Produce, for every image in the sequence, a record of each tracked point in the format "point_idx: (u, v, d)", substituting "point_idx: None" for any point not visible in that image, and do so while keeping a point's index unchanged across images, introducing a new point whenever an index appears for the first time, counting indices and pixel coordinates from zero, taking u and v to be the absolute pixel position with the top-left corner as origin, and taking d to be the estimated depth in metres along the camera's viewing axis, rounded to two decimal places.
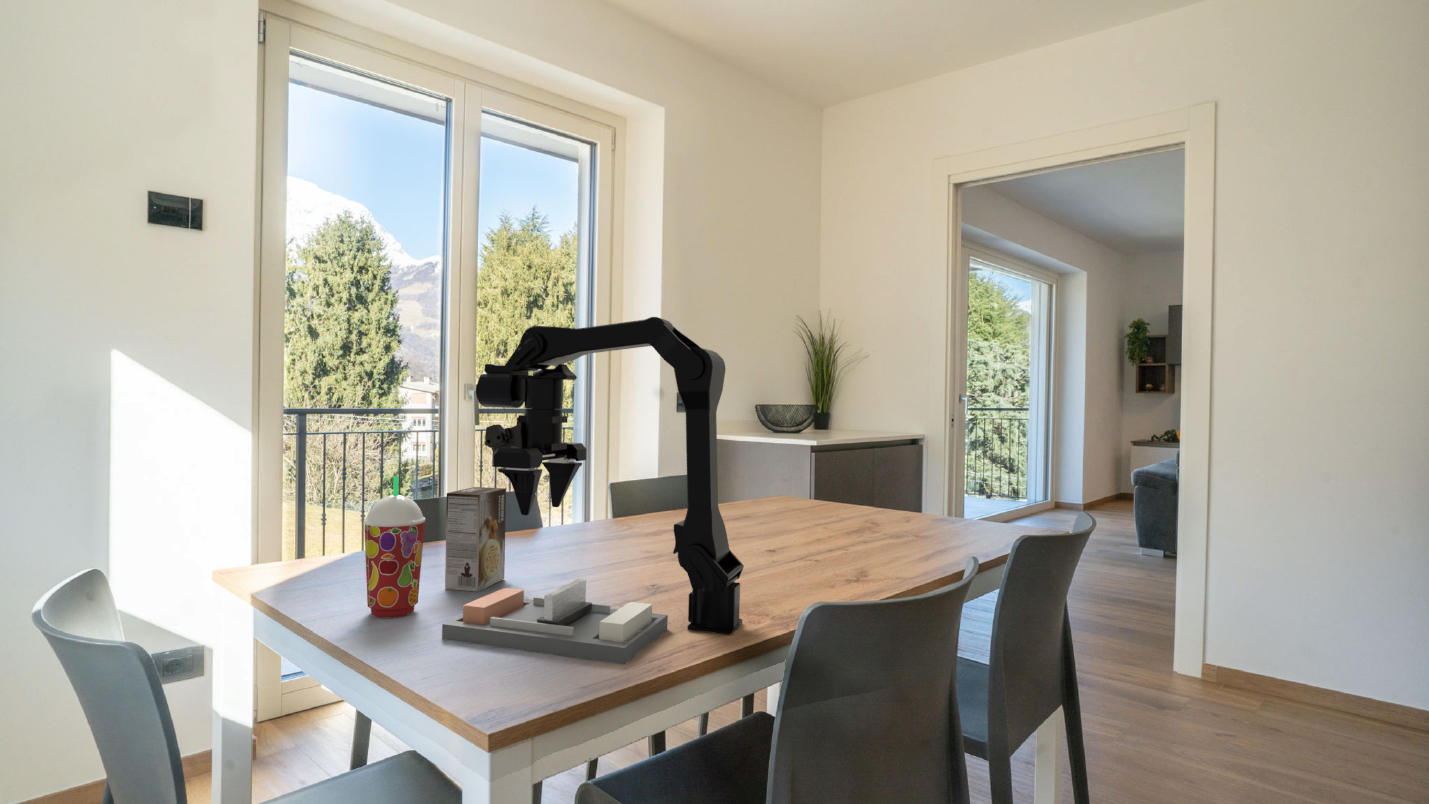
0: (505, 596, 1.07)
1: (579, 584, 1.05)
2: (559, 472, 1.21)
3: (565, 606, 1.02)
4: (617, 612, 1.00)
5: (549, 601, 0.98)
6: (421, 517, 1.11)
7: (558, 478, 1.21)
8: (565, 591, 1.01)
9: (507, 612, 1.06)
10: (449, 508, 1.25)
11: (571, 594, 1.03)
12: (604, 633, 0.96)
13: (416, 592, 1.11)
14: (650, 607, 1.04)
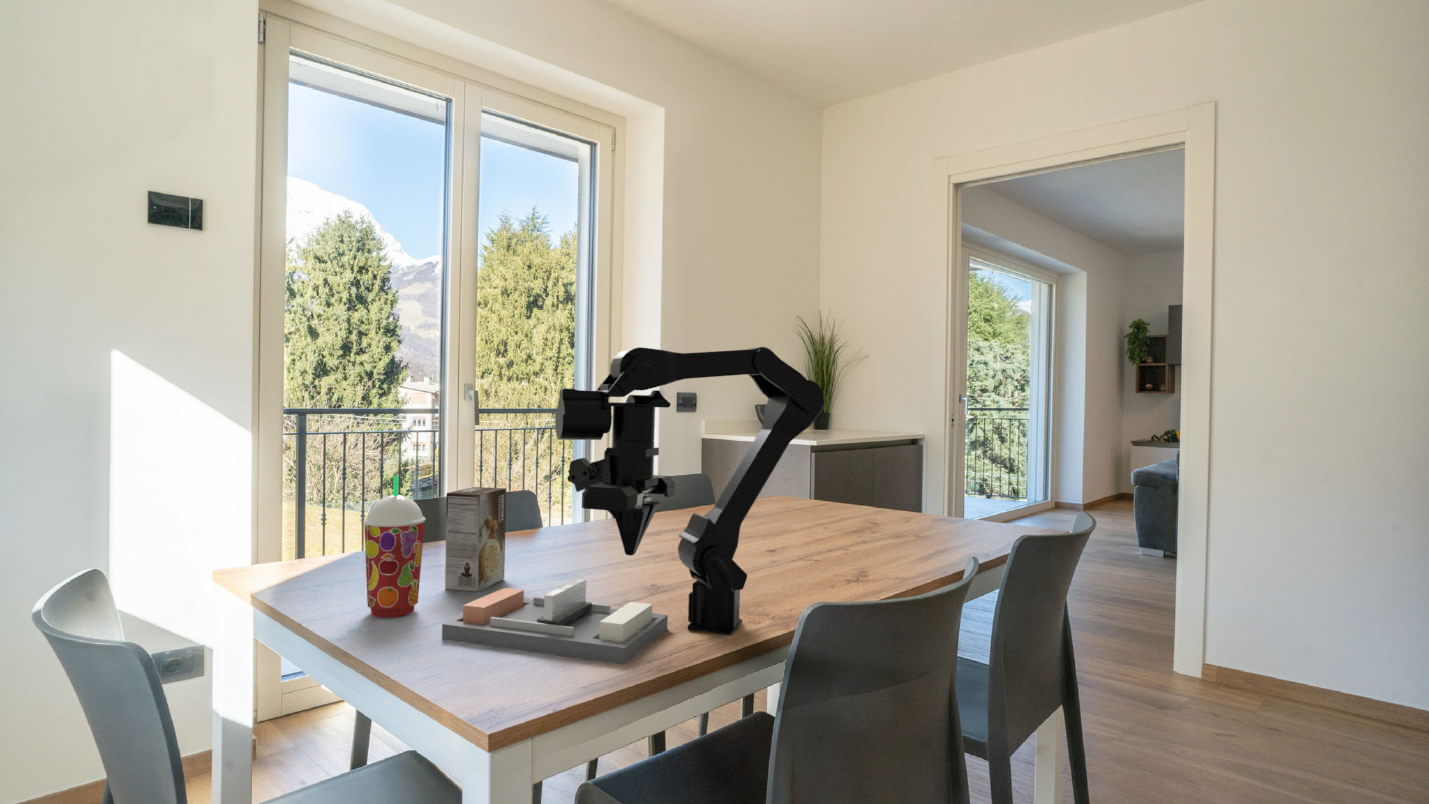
0: (505, 596, 1.07)
1: (579, 584, 1.05)
2: None
3: (565, 606, 1.02)
4: (617, 612, 1.00)
5: (549, 601, 0.98)
6: (421, 517, 1.11)
7: None
8: (565, 591, 1.01)
9: (507, 612, 1.06)
10: (449, 508, 1.25)
11: (571, 594, 1.03)
12: (604, 633, 0.96)
13: (416, 592, 1.11)
14: (650, 607, 1.04)
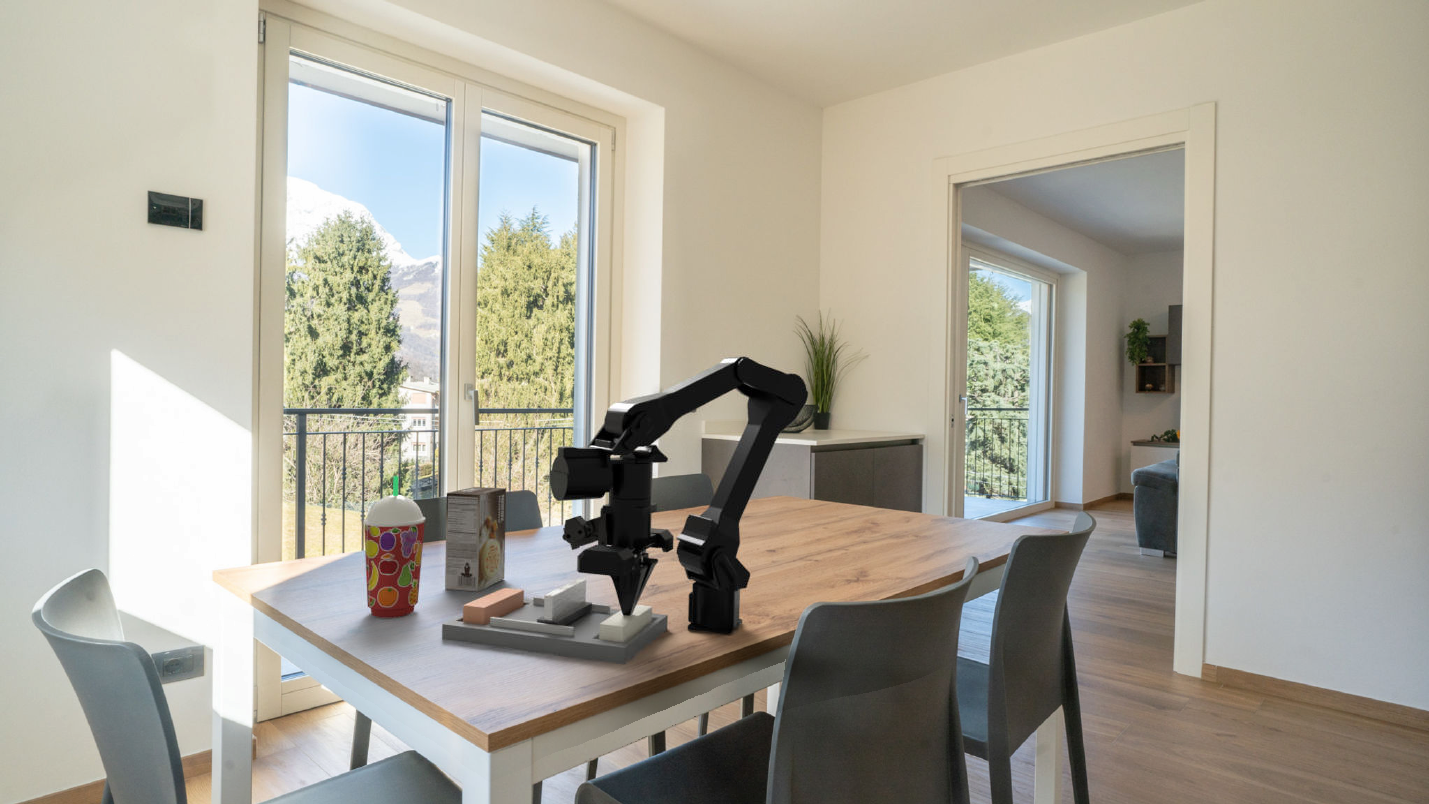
0: (505, 596, 1.07)
1: (579, 584, 1.05)
2: None
3: (565, 606, 1.02)
4: (617, 615, 1.00)
5: (549, 601, 0.98)
6: (421, 517, 1.11)
7: None
8: (565, 591, 1.01)
9: (507, 612, 1.06)
10: (449, 508, 1.25)
11: (571, 594, 1.03)
12: (604, 635, 0.96)
13: (416, 592, 1.11)
14: (650, 610, 1.04)
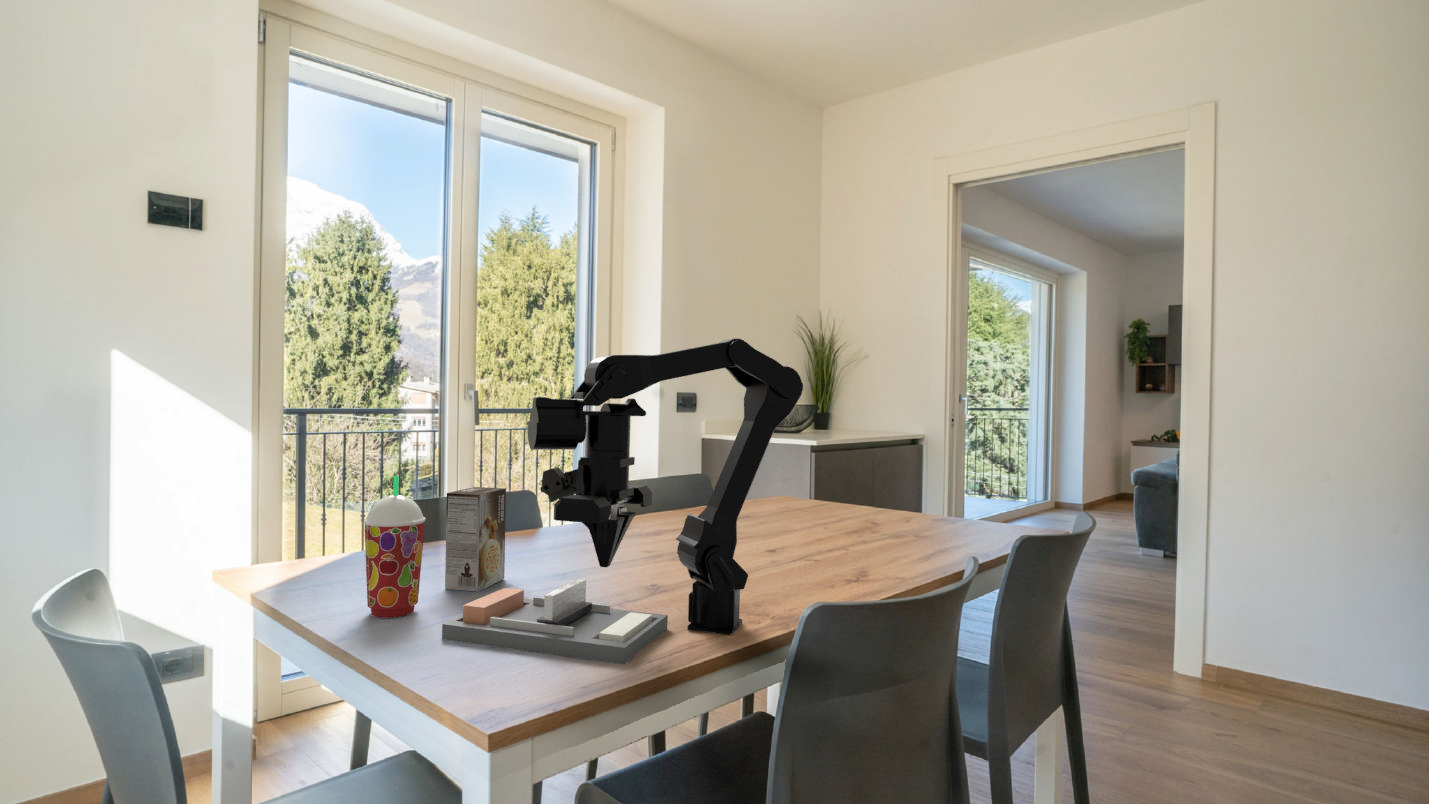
0: (505, 596, 1.07)
1: (579, 584, 1.05)
2: None
3: (565, 606, 1.02)
4: (617, 623, 1.00)
5: (549, 601, 0.98)
6: (421, 517, 1.11)
7: None
8: (565, 591, 1.01)
9: (507, 612, 1.06)
10: (449, 508, 1.25)
11: (571, 594, 1.03)
12: None
13: (416, 592, 1.11)
14: (649, 618, 1.04)
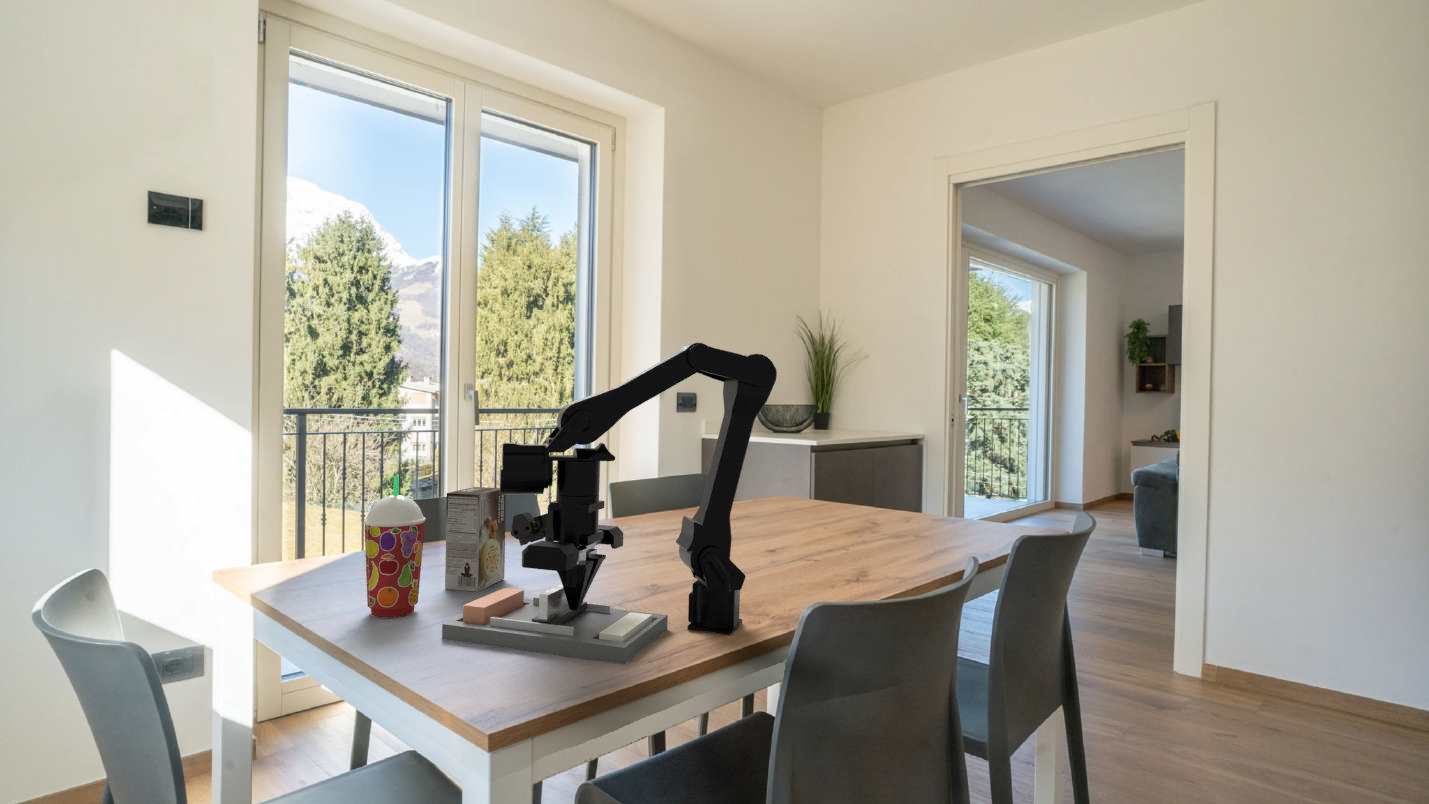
0: (505, 596, 1.07)
1: None
2: None
3: (560, 606, 1.02)
4: (617, 623, 1.00)
5: (544, 600, 0.99)
6: (421, 517, 1.11)
7: None
8: (560, 590, 1.02)
9: (507, 612, 1.06)
10: (449, 509, 1.25)
11: None
12: None
13: (416, 592, 1.11)
14: (649, 618, 1.04)
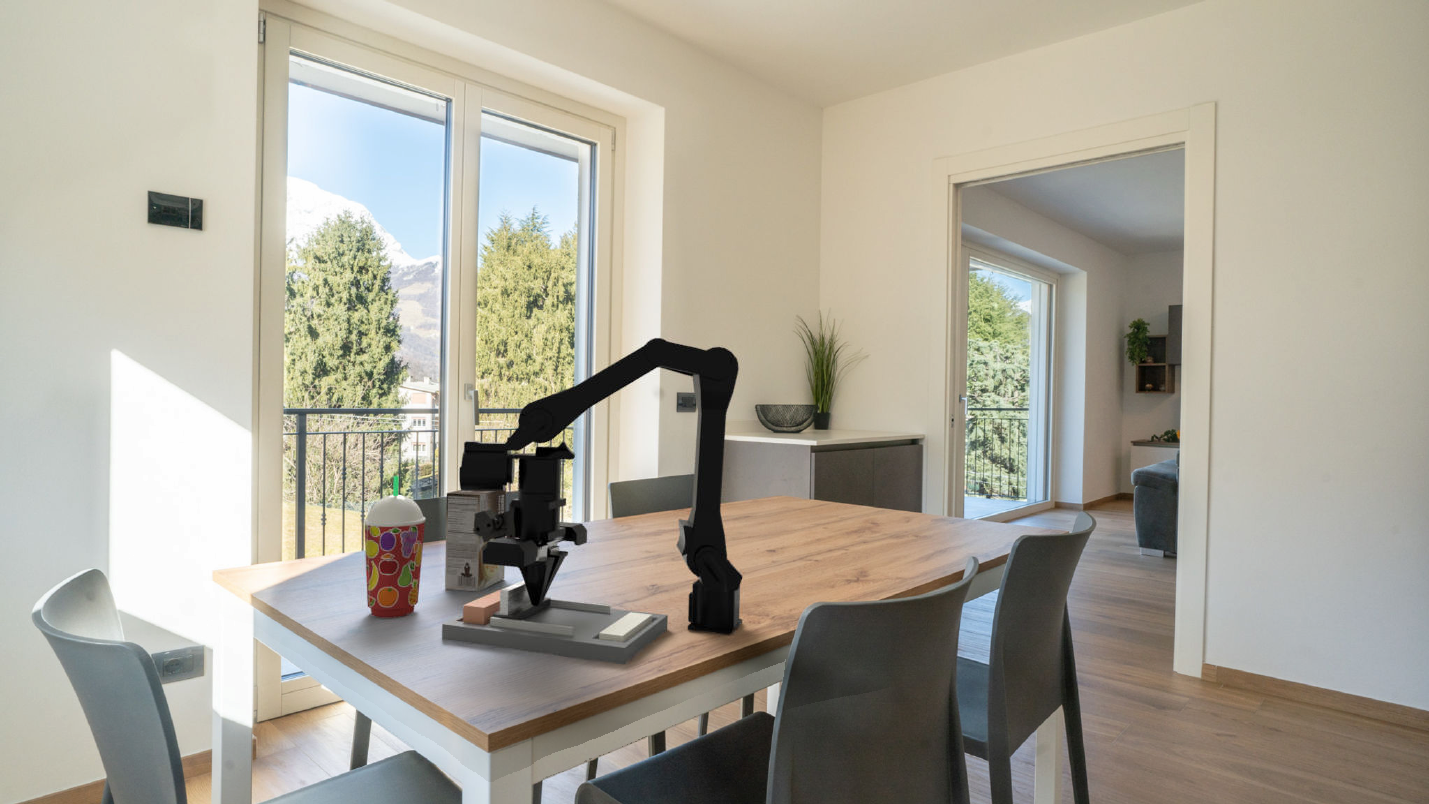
0: None
1: None
2: None
3: (522, 601, 1.04)
4: (617, 623, 1.00)
5: (505, 596, 1.00)
6: (421, 517, 1.11)
7: None
8: (522, 586, 1.03)
9: None
10: (449, 508, 1.25)
11: None
12: None
13: (416, 592, 1.11)
14: (649, 618, 1.04)
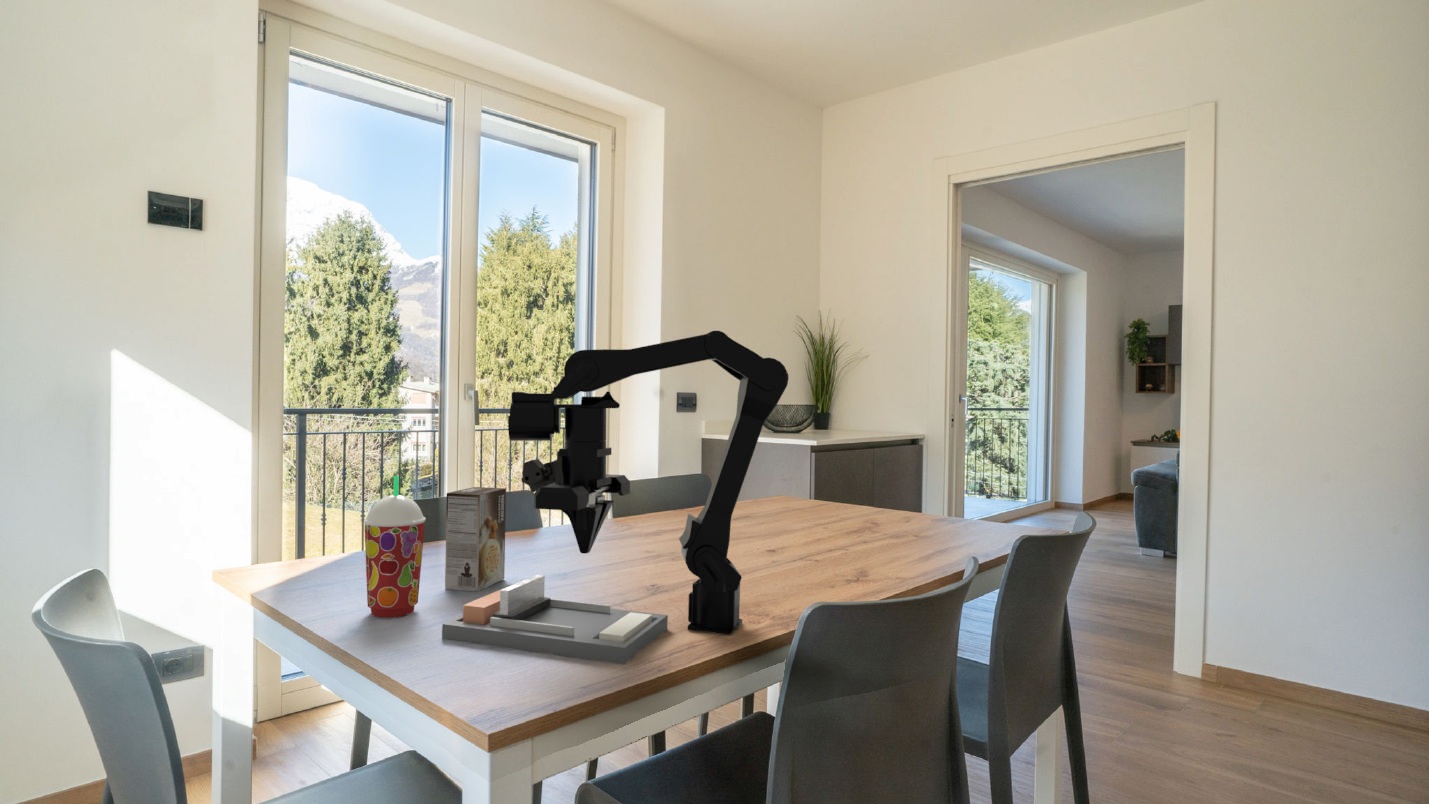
0: None
1: (537, 580, 1.07)
2: None
3: (522, 601, 1.04)
4: (617, 623, 1.00)
5: (505, 596, 1.00)
6: (421, 517, 1.11)
7: None
8: (522, 586, 1.03)
9: None
10: (449, 509, 1.25)
11: (529, 590, 1.05)
12: None
13: (416, 592, 1.11)
14: (649, 618, 1.04)
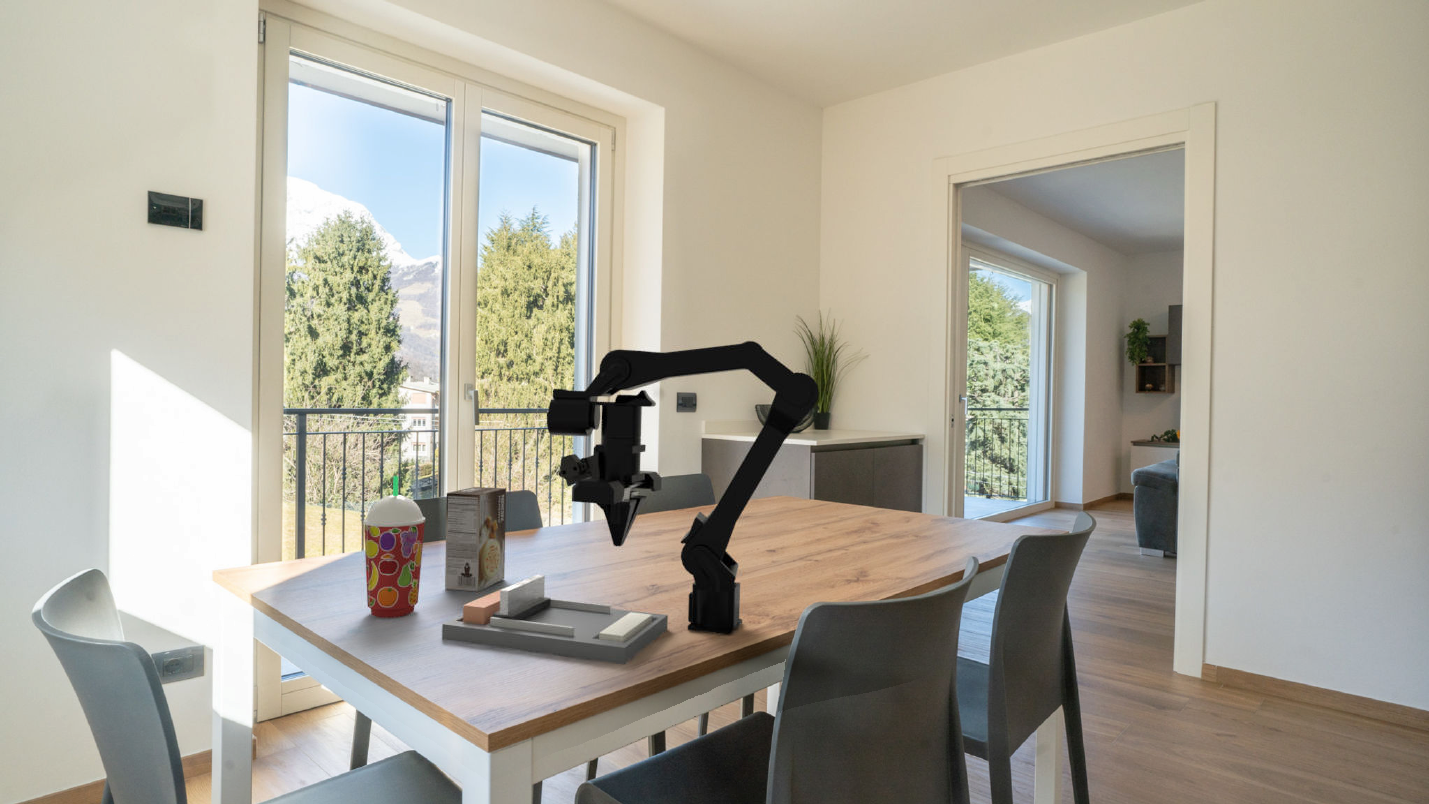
0: None
1: (537, 580, 1.07)
2: None
3: (522, 601, 1.04)
4: (617, 623, 1.00)
5: (505, 596, 1.00)
6: (421, 517, 1.11)
7: None
8: (522, 586, 1.03)
9: None
10: (449, 508, 1.25)
11: (529, 590, 1.05)
12: None
13: (416, 592, 1.11)
14: (649, 618, 1.04)
